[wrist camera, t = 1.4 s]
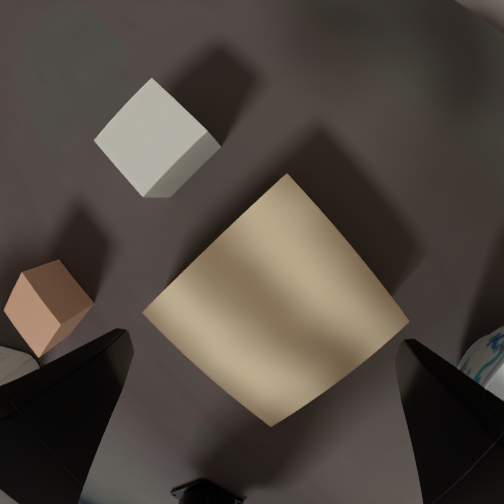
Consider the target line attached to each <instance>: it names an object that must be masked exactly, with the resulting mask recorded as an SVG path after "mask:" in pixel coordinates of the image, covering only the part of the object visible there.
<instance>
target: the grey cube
mask: <svg viewBox="0 0 504 504" xmlns="http://www.w3.org/2000/svg"><path fill="white" fill-rule="evenodd" d="M94 141H95V142H96V143H97V145H98V146H99V147H100V148H101V149H102V151H103V152H104V153H105V154H106V155H107V156H108V158H109V159H110V160H111V161H112V162H113V163H114V165H115V166H116V167H117V168H118V169H119V170H120V172H121V173H122V174H123V175H124V176H125V177H126V178H127V180H128V181H129V182H130V183H131V184H132V185H133V186H134V188H135V189H136V190H137V191H138V192H139V193H140V194H141V195H142V197H171V196H172V195H173V194H174V193H175V192H176V191H177V190H178V189H179V188H180V187H181V186H182V185H183V184H184V183H185V182H186V181H187V180H188V179H189V178H190V177H191V176H192V175H193V174H194V173H195V172H196V171H197V170H198V169H199V168H200V167H201V166H202V165H203V164H204V163H205V162H206V161H207V160H208V159H209V158H210V157H211V156H212V155H213V154H214V153H215V152H216V151H218V150H219V149H220V148H221V146H220V145H219V144H218V142H217V141H216V140H215V139H214V138H213V137H212V135H211V134H210V133H209V132H208V131H207V130H206V129H205V128H204V127H203V126H202V125H201V124H200V123H199V122H198V121H197V120H196V119H195V118H194V117H193V116H192V115H191V114H190V113H189V112H187V111H186V110H185V109H184V108H183V107H182V106H181V105H180V104H179V103H178V102H177V101H176V100H175V99H174V98H173V97H172V96H171V95H170V94H168V93H167V92H166V91H165V90H164V89H163V88H162V87H161V86H160V85H159V84H158V83H157V82H155V81H154V80H153V79H152V78H151V79H150V80H149V81H148V82H147V83H146V84H145V85H144V86H143V87H142V88H141V89H140V90H139V91H138V92H137V93H136V94H135V95H134V96H133V97H132V98H131V99H130V100H129V101H128V102H127V103H126V104H125V105H124V107H123V108H122V109H121V110H120V111H119V112H118V113H117V114H116V115H115V116H114V118H113V119H112V120H111V121H110V122H109V123H108V124H107V125H106V127H105V128H104V129H103V130H102V131H101V133H100V134H99V135H98V136H97V137H96V139H95V140H94Z"/></svg>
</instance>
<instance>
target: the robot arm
mask: <svg viewBox="0 0 504 504" xmlns="http://www.w3.org/2000/svg"><path fill="white" fill-rule="evenodd" d="M133 355H134V348H133V344H132V341H131V338H130V334H129V332H128V330H126V329H120V328H116V329H114V330H112V331H110V332H108V333H106V334H104V335H102V336H101V337H99V338H97V339H95V340H93V341H91V342H89V343H87V344H85V345H83V346H81V347H79V348H77V349H75V350H73V351H71V352H69V353H67V354H65V355H63V356H62V357H60V358H58V359H56V360H54V361H52V362H50V363H48V364H46V365H44V366H42V367H40V368H39V369H36V370H34V371H32V372H30V373H28V374H26V375H24V376H22V377H20V378H17V379H15V380H13V381H10V382H8V383H6V384H3V385H1V386H0V504H78V501H79V498H80V495H81V492H82V490H83V486H84V484H85V481H86V478H87V475H88V473H89V470H90V467H91V465H92V462H93V460H94V457H95V454H96V452H97V449H98V447H99V444H100V442H101V439H102V437H103V434H104V432H105V429H106V427H107V425H108V422H109V420H110V417H111V415H112V413H113V410H114V408H115V406H116V403H117V401H118V399H119V396H120V394H121V392H122V389H123V386H124V383H125V380H126V377H127V373H128V370H129V367H130V364H131V361H132V358H133ZM395 366H396V371H397V377H398V383H399V389H400V396H401V402H402V406H403V410H404V414H405V418H406V422H407V426H408V430H409V434H410V438H411V442H412V447H413V451H414V456H415V461H416V466H417V471H418V476H419V481H420V487H421V492H422V498H423V504H504V401H503V400H502V399H500V398H499V397H497V396H496V395H494V394H493V393H491V392H490V391H489V390H486V389H485V388H484V387H483V386H482V385H480V384H479V383H477V382H476V381H474V380H473V379H472V378H470V377H469V376H467V375H466V374H465V373H463V372H462V371H460V370H459V369H457V368H456V367H455V366H453V365H452V364H450V363H449V362H447V361H446V360H444V359H443V358H442V357H440V356H439V355H437V354H436V353H434V352H433V351H431V350H430V349H429V348H427V347H426V346H424V345H423V344H421V343H420V342H418V341H417V340H415V339H404V340H402V342H401V344H400V347H399V350H398V353H397V356H396V360H395ZM170 495H171V496H173V497H175V498H177V499H178V500H180V501H179V504H243V502H244V501H243V500H241V499H240V498H238V497H236V496H234V495H232V494H230V493H228V492H226V491H225V490H223V489H221V488H219V487H217V486H216V485H214V484H212V483H210V482H209V481H207V480H204V479H201V480H199V481H196V482H194V483H191V484H188V485H186V486H183V487H181V488H178V489H175V490H172V491H171V493H170Z"/></svg>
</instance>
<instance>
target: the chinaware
mask: <svg viewBox="0 0 504 504" xmlns="http://www.w3.org/2000/svg"><path fill="white" fill-rule="evenodd" d="M457 369H459V370H460V371H462V372H463V373H465V374H466V375H467V376H469V377H470V378H472V379H473V380H474V381H476V382H477V383H479V384H480V385H482V386H483V387H484V388H485V389H486V390H489V391H490V392H491V393H493V394H494V395H496V396H497V397H499V398H500V399H502V400H503V401H504V325H503V326H501V327H499V328H498V329H496V330H495V331H493V332H492V333H491V334H489V335H486V336H484V337H482V338H480V339H479V340H477V341H476V342H475V343H474V344H473V345H472V346H471V347H470V348H469V349H468V350H467V352H466V353H465V354H464V356H463V358H462V359H461V361H460V363H459V365H458V368H457Z"/></svg>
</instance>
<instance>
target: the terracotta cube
mask: <svg viewBox="0 0 504 504" xmlns="http://www.w3.org/2000/svg"><path fill="white" fill-rule="evenodd" d="M93 304H94V302H93V301H92V300H91V299H90V297H89V296H88V295H87V294H86V293H85V291H84V290H83V289H82V288H81V287H80V285H79V284H78V283H77V282H76V280H75V279H74V278H73V277H72V275H71V274H70V273H69V272H68V270H67V269H66V268H65V266H64V265H63V264H62V262H61V261H60V260H56V261H53V262H50V263H47V264H44V265H41V266H38V267H35V268H32V269H29V270H26V271H23V272H22V273H21V275H20V277H19V279H18V281H17V283H16V285H15V287H14V289H13V291H12V293H11V295H10V297H9V300H8V302H7V304H6V306H5V309H4V312H5V313H6V315H7V316H8V318H9V319H10V320H11V322H12V323H13V325H14V326H15V328H16V329H17V330H18V332H19V333H20V334H21V336H22V337H23V338H24V340H25V341H26V342H27V344H28V345H29V346H30V347H31V349H32V350H33V351H34V352H35V354H36V355H37V356H38V357H41V356H42V355H43V354H45V353H46V352H47V351H49V350H50V349H51V348H53V347H54V346H55V345H57V344H58V343H59V342H61V341H62V340H63V339H65V338H66V337H67V336H69V335H70V334H71V332H72V331H73V330H74V329H75V327H76V326H77V325H78V323H79V322H80V321H81V320H82V318H83V317H84V316H85V314H86V313H87V312H88V311H89V309H90V308H91V307H92V306H93Z"/></svg>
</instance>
